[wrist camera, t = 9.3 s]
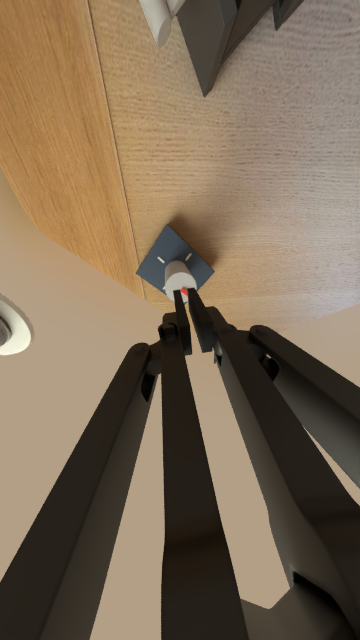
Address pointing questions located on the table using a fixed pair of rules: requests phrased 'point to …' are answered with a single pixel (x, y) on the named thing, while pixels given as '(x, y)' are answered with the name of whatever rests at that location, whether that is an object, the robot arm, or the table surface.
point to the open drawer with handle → (205, 29)
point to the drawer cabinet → (284, 10)
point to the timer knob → (178, 279)
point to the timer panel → (170, 250)
